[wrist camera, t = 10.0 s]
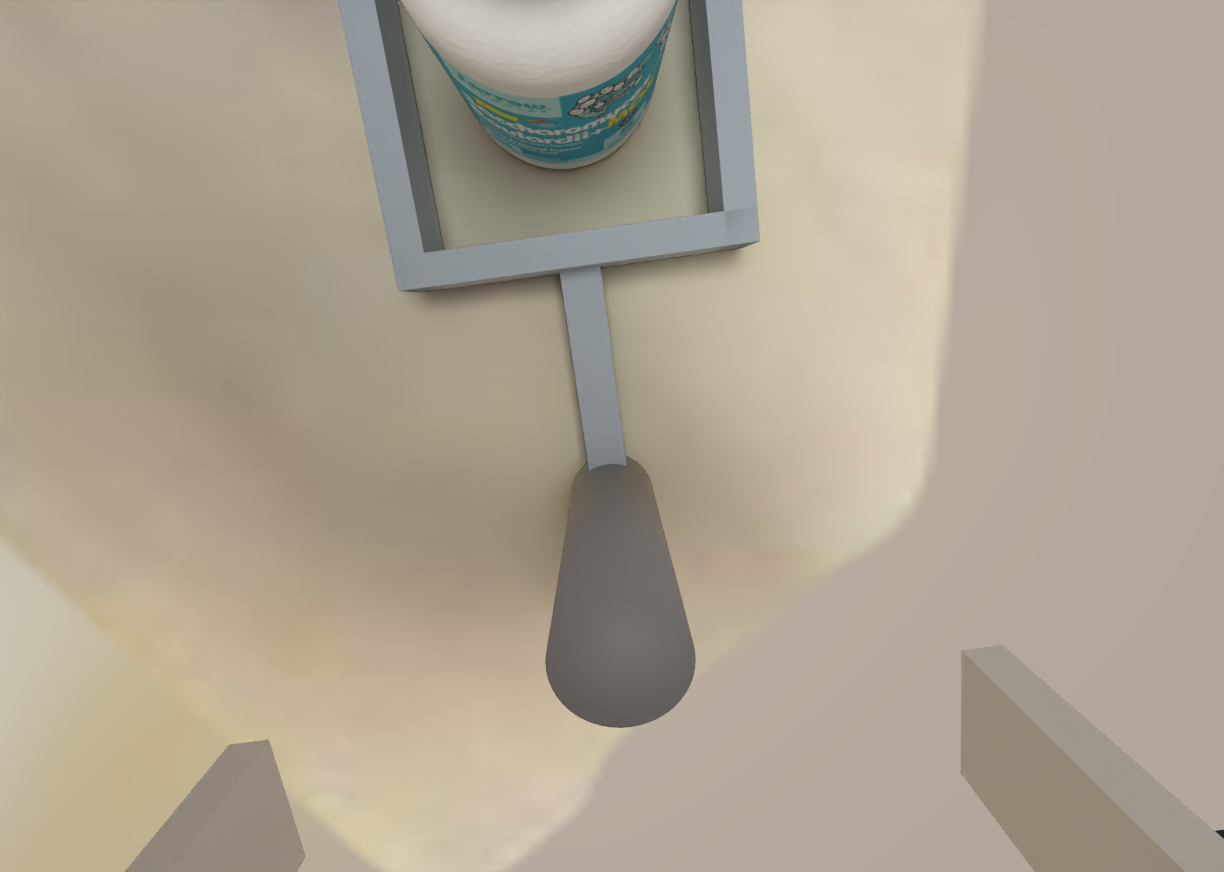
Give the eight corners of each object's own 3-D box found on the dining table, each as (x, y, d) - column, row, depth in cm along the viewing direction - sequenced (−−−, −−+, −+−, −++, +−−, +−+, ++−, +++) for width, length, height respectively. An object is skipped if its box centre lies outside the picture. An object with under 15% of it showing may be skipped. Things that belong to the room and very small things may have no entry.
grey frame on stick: (354, -48, 22) (25, -509, 10) (712, -101, 22) (861, -644, 9) (473, 548, 28) (362, 760, 15) (763, 510, 27) (901, 692, 15)
